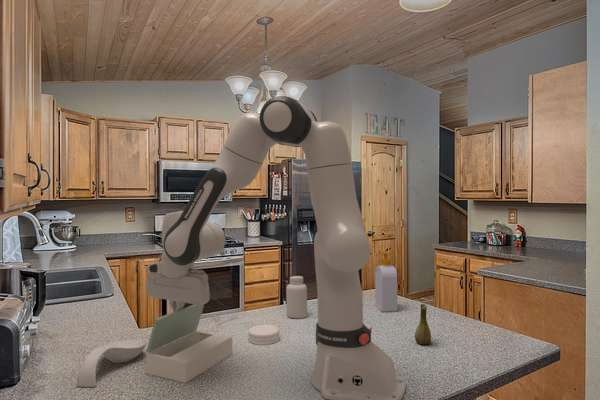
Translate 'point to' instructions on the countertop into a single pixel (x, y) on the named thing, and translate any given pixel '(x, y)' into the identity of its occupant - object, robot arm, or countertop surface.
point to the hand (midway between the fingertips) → (177, 316)
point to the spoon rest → (112, 352)
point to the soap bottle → (386, 286)
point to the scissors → (219, 322)
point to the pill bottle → (296, 298)
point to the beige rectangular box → (188, 356)
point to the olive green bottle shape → (423, 328)
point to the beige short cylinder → (263, 334)
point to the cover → (174, 326)
